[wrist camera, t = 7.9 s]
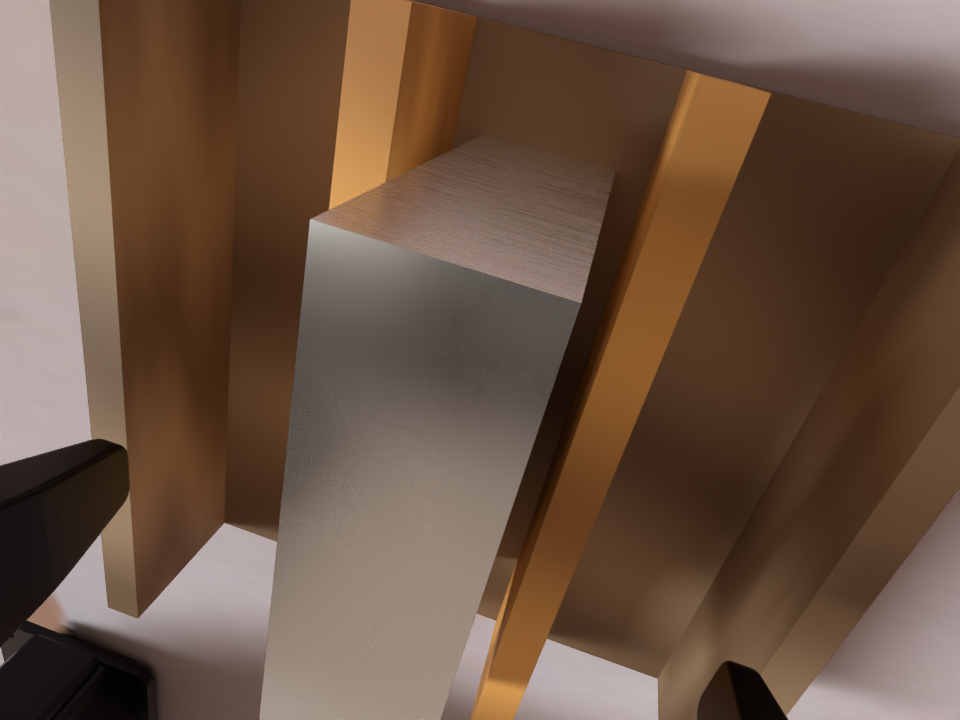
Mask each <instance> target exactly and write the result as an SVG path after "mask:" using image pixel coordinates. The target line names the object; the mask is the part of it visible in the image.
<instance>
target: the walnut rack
mask: <svg viewBox="0 0 960 720" xmlns="http://www.w3.org/2000/svg"><path fill="white" fill-rule="evenodd" d="M49 1H50V11H51V21H52V32H53V42H54V52H55V63H56V73H57V83H58V94H59V104H60V114H61V125H62V135H63V145H64V156H65V166H66V177H67V187H68V197H69V208H70V218H71V228H72V239H73V249H74V259H75V270H76V280H77V290H78V301H79V311H80V321H81V332H82V342H83V353H84V363H85V373H86V384H87V394H88V404H89V415H90V425H91V435H92V440H93V439H105V440H108V441H110V442H113V443H116V444H119V445H122V446H123V447H125V449H126V450H127V452H128V461H129V477H130V491H129V495H128V497H127V499H126V501H125V503H124V504H123V506H122V507H121V508H120V509H119V511H118V512H117V513H116V514H115V516H114V517H113V518H112V520H111V521H110V522H109V523H108V525H107V526H106V527H105V528H104V530H103V531H102V532H101V539H102V549H103V560H104V570H105V580H106V591H107V601H108V607H109V608H112V609H114V610H117V611H119V612H122V613H125V614H127V615H130V616H132V617H135V618H139V617H140V616H141V615H142V613H143V612H144V611H145V610H146V609H147V608H148V607H149V606H150V605H151V604H152V602H153V601H154V600H155V599H156V598H157V597H158V596H159V595H160V594H161V592H162V591H163V590H164V589H165V588H166V587H167V586H168V585H169V584H170V582H171V581H172V580H173V579H174V578H175V577H176V576H177V575H178V574H179V572H180V571H181V570H182V569H183V568H184V567H185V566H186V565H187V564H188V562H189V561H190V560H191V559H192V558H193V557H194V556H195V555H196V554H197V552H198V551H199V550H200V549H201V548H202V547H203V546H204V545H205V544H206V543H207V541H208V540H209V539H210V538H211V537H212V536H213V535H214V534H215V533H216V531H217V530H218V529H219V528H220V527H221V526H222V525H223V524H224V523H227V524H229V525H232V526H235V527H238V528H241V529H243V530H246V531H249V532H252V533H255V534H257V535H260V536H263V537H266V538H268V539H271V540H274V541H277V540H278V530H279V520H280V510H281V500H282V490H283V481H284V471H285V461H286V451H287V441H288V432H289V422H290V412H291V402H292V392H293V382H294V373H295V363H296V353H297V343H298V333H299V324H300V314H301V304H302V294H303V284H304V275H305V265H306V255H307V245H308V235H309V225H310V219H312V218H314V217H316V216H318V215H320V214H322V213H324V212H326V211H328V210H330V209H332V208H334V207H336V206H338V205H340V204H342V203H344V202H346V201H348V200H350V199H353V198H355V197H357V196H359V195H361V194H363V193H365V192H367V191H369V190H371V189H373V188H375V187H377V186H379V185H381V184H383V183H385V182H387V181H389V180H391V179H393V178H396V177H398V176H400V175H402V174H404V173H406V172H408V171H410V170H412V169H414V168H416V167H418V166H420V165H422V164H424V163H426V162H428V161H430V160H432V159H434V158H436V157H438V156H441V155H443V154H445V153H447V152H449V151H451V150H453V149H455V148H457V147H459V146H461V145H463V144H465V143H467V142H469V141H471V140H473V139H475V138H477V137H479V136H481V135H483V134H486V133H487V134H490V135H494V136H497V137H501V138H504V139H508V140H511V141H515V142H518V143H522V144H525V145H529V146H532V147H536V148H539V149H543V150H546V151H550V152H553V153H557V154H560V155H564V156H567V157H571V158H574V159H578V160H581V161H585V162H588V163H592V164H595V165H599V166H602V167H606V168H609V169H613V170H616V172H615V176H614V179H613V183H612V187H611V191H610V195H609V199H608V202H607V206H606V210H605V214H604V218H603V222H602V225H601V229H600V233H599V237H598V241H597V245H596V248H595V252H594V256H593V260H592V264H591V268H590V271H589V275H588V279H587V283H586V287H585V291H584V294H583V298H582V302H581V305H580V308H579V311H578V314H577V317H576V320H575V323H574V326H573V329H572V332H571V335H570V338H569V341H568V344H567V347H566V350H565V353H564V356H563V358H562V361H561V364H560V367H559V370H558V373H557V376H556V379H555V382H554V385H553V388H552V391H551V394H550V397H549V400H548V403H547V406H546V409H545V412H544V415H543V418H542V421H541V424H540V427H539V429H538V432H537V435H536V438H535V441H534V444H533V447H532V450H531V453H530V456H529V459H528V462H527V465H526V468H525V471H524V474H523V477H522V480H521V483H520V486H519V489H518V492H517V495H516V498H515V500H514V503H513V506H512V509H511V512H510V515H509V518H508V521H507V524H506V527H505V530H504V533H503V536H502V539H501V542H500V545H499V548H498V551H497V554H496V557H495V560H494V563H493V566H492V569H491V571H490V574H489V577H488V580H487V583H486V586H485V589H484V592H483V595H482V598H481V601H480V604H479V607H478V610H477V614H480V615H482V616H485V617H488V618H491V619H494V620H496V624H495V628H494V632H493V635H492V639H491V643H490V647H489V650H488V654H487V658H486V662H485V666H484V669H483V673H482V677H481V681H480V685H479V688H478V692H477V696H476V700H475V703H474V707H473V711H472V715H471V719H470V720H513V719H514V716H515V714H516V711H517V709H518V707H519V704H520V702H521V699H522V697H523V694H524V692H525V690H526V687H527V685H528V682H529V680H530V677H531V675H532V673H533V670H534V668H535V665H536V663H537V661H538V658H539V656H540V653H541V651H542V648H543V646H544V644H545V641H546V639H549V640H552V641H555V642H558V643H560V644H563V645H566V646H569V647H571V648H574V649H577V650H580V651H583V652H585V653H588V654H591V655H594V656H596V657H599V658H602V659H605V660H608V661H610V662H613V663H616V664H619V665H622V666H624V667H627V668H630V669H633V670H635V671H638V672H641V673H644V674H647V675H649V676H652V677H655V678H658V715H659V720H696V717H697V708H698V703H699V700H700V697H701V695H702V693H703V692H704V690H705V688H706V687H707V685H708V684H709V682H710V681H711V679H712V677H713V676H714V674H715V673H716V671H717V670H718V668H719V666H720V665H721V664H722V663H723V662H725V661H727V660H728V661H733V662H736V663H739V664H742V665H744V666H747V667H750V668H753V669H755V670H756V671H757V672H758V673H759V674H760V675H761V677H762V678H763V680H764V681H765V683H766V685H767V686H768V688H769V689H770V691H771V693H772V694H773V696H774V697H775V699H776V701H777V702H778V704H779V705H780V707H781V709H782V710H783V712H784V713H785V715H787V714H788V713H789V712H790V710H791V709H792V708H793V706H794V705H795V704H796V702H797V701H798V700H799V698H800V697H801V696H802V694H803V693H804V692H805V691H806V689H807V688H808V687H809V685H810V684H811V683H812V681H813V680H814V679H815V677H816V676H817V675H818V673H819V672H820V671H821V669H822V668H823V667H824V666H825V664H826V663H827V662H828V660H829V659H830V658H831V656H832V655H833V654H834V652H835V651H836V650H837V648H838V647H839V646H840V645H841V643H842V642H843V641H844V639H845V638H846V637H847V635H848V634H849V633H850V631H851V630H852V629H853V627H854V626H855V625H856V624H857V622H858V621H859V620H860V618H861V617H862V616H863V614H864V613H865V612H866V610H867V609H868V608H869V606H870V605H871V604H872V603H873V601H874V600H875V599H876V597H877V596H878V595H879V593H880V592H881V591H882V589H883V588H884V587H885V585H886V584H887V583H888V581H889V580H890V579H891V578H892V576H893V575H894V574H895V572H896V571H897V570H898V568H899V567H900V566H901V564H902V563H903V562H904V560H905V559H906V558H907V557H908V555H909V554H910V553H911V551H912V550H913V549H914V547H915V546H916V545H917V543H918V542H919V541H920V539H921V538H922V537H923V536H924V534H925V533H926V532H927V530H928V529H929V528H930V526H931V525H932V524H933V522H934V521H935V520H936V518H937V517H938V516H939V514H940V513H941V512H942V511H943V509H944V508H945V507H946V505H947V504H948V503H949V501H950V500H951V499H952V497H953V496H954V495H955V493H956V492H957V491H958V490H959V488H960V139H959V138H955V137H951V136H947V135H943V134H939V133H935V132H931V131H927V130H923V129H919V128H915V127H911V126H908V125H904V124H900V123H896V122H892V121H888V120H884V119H880V118H876V117H872V116H868V115H864V114H860V113H856V112H852V111H848V110H844V109H840V108H836V107H832V106H829V105H825V104H821V103H817V102H813V101H809V100H805V99H801V98H797V97H793V96H789V95H785V94H781V93H777V92H773V91H769V90H765V89H761V88H757V87H753V86H749V85H746V84H742V83H738V82H734V81H730V80H726V79H722V78H718V77H714V76H710V75H706V74H702V73H698V72H694V71H690V70H686V69H682V68H678V67H674V66H670V65H667V64H663V63H659V62H655V61H651V60H647V59H643V58H639V57H635V56H631V55H627V54H623V53H619V52H615V51H611V50H607V49H603V48H599V47H595V46H591V45H588V44H584V43H580V42H576V41H572V40H568V39H564V38H560V37H556V36H552V35H548V34H544V33H540V32H536V31H532V30H528V29H524V28H520V27H516V26H512V25H509V24H505V23H501V22H497V21H493V20H489V19H485V18H481V17H477V16H473V15H469V14H465V13H461V12H457V11H453V10H449V9H445V8H441V7H437V6H433V5H429V4H426V3H422V2H418V1H414V0H49Z"/></svg>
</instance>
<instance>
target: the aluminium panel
mask: <svg viewBox="0 0 960 720" xmlns="http://www.w3.org/2000/svg"><path fill="white" fill-rule="evenodd" d="M615 172H616V170H613V169H609V168H606V167H602V166H599V165H595V164H592V163H588V162H585V161H581V160H578V159H574V158H571V157H567V156H564V155H560V154H557V153H553V152H550V151H546V150H543V149H539V148H536V147H532V146H529V145H525V144H522V143H518V142H515V141H511V140H508V139H504V138H501V137H497V136H494V135H490V134H487V133H486V134H483V135H481V136H479V137H477V138H475V139H473V140H471V141H469V142H467V143H465V144H463V145H461V146H459V147H457V148H455V149H453V150H451V151H449V152H447V153H445V154H443V155H441V156H438V157H436V158H434V159H432V160H430V161H428V162H426V163H424V164H422V165H420V166H418V167H416V168H414V169H412V170H410V171H408V172H406V173H404V174H402V175H400V176H398V177H396V178H393V179H391V180H389V181H387V182H385V183H383V184H381V185H379V186H377V187H375V188H373V189H371V190H369V191H367V192H365V193H363V194H361V195H359V196H357V197H355V198H353V199H350V200H348V201H346V202H344V203H342V204H340V205H338V206H336V207H334V208H332V209H330V210H328V211H326V212H324V213H322V214H320V215H318V216H316V217H314V218H312V219H310V225H309V235H308V245H307V255H306V265H305V275H304V284H303V294H302V304H301V314H300V324H299V333H298V343H297V353H296V363H295V373H294V382H293V392H292V402H291V412H290V422H289V432H288V441H287V451H286V461H285V471H284V481H283V490H282V500H281V510H280V520H279V530H278V540H277V549H276V559H275V569H274V579H273V589H272V598H271V608H270V618H269V628H268V638H267V648H266V657H265V667H264V677H263V687H262V697H261V706H260V716H259V720H440V719H441V716H442V713H443V711H444V708H445V705H446V702H447V699H448V696H449V693H450V690H451V687H452V684H453V681H454V678H455V675H456V672H457V669H458V666H459V663H460V660H461V657H462V654H463V651H464V648H465V645H466V642H467V640H468V637H469V634H470V631H471V628H472V625H473V622H474V619H475V616H476V613H477V610H478V607H479V604H480V601H481V598H482V595H483V592H484V589H485V586H486V583H487V580H488V577H489V574H490V571H491V569H492V566H493V563H494V560H495V557H496V554H497V551H498V548H499V545H500V542H501V539H502V536H503V533H504V530H505V527H506V524H507V521H508V518H509V515H510V512H511V509H512V506H513V503H514V500H515V498H516V495H517V492H518V489H519V486H520V483H521V480H522V477H523V474H524V471H525V468H526V465H527V462H528V459H529V456H530V453H531V450H532V447H533V444H534V441H535V438H536V435H537V432H538V429H539V427H540V424H541V421H542V418H543V415H544V412H545V409H546V406H547V403H548V400H549V397H550V394H551V391H552V388H553V385H554V382H555V379H556V376H557V373H558V370H559V367H560V364H561V361H562V358H563V356H564V353H565V350H566V347H567V344H568V341H569V338H570V335H571V332H572V329H573V326H574V323H575V320H576V317H577V314H578V311H579V308H580V305H581V302H582V298H583V294H584V291H585V287H586V283H587V279H588V275H589V271H590V268H591V264H592V260H593V256H594V252H595V248H596V245H597V241H598V237H599V233H600V229H601V225H602V222H603V218H604V214H605V210H606V206H607V202H608V199H609V195H610V191H611V187H612V183H613V179H614V176H615Z"/></svg>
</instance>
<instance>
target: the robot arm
mask: <svg viewBox="0 0 960 720" xmlns="http://www.w3.org/2000/svg"><path fill="white" fill-rule="evenodd" d="M129 491H130V477H129V461H128V452H127V450H126V449H125V447H123V446H122V445H119V444H116V443H113V442H110V441H108V440H105V439H93V440H89V441H86V442H82V443H79V444H75V445H72V446H68V447H64V448H61V449H57V450H54V451H50V452H47V453H43V454H40V455H36V456H33V457H29V458H26V459H22V460H19V461H15V462H12V463H8V464H4V465H1V466H0V647H1V649H2V653H3V658H4V663H3V664H2V665H1V666H0V720H156V701H155V681H154V676H153V674H152V673H151V671H149V670H148V669H147V668H145V667H143V666H141V665H139V664H136V663H134V662H131V661H128V660H126V659H123V658H121V657H118V656H116V655H113V654H111V653H108V652H105V651H103V650H100V649H98V648H95V647H93V646H90V645H88V644H85V643H83V642H80V641H77V640H75V639H72V638H70V637H67V636H65V635H62V634H60V633H57V632H55V631H52V630H49V629H47V628H44V627H42V626H39V625H37V624H34V623H31V622H29V621H26V620H27V619H28V618H29V617H30V616H31V615H32V614H33V613H34V612H35V611H36V610H37V609H38V608H39V607H40V606H41V605H42V604H43V602H44V601H45V600H46V599H47V598H48V597H49V596H50V595H51V594H52V593H53V592H54V590H55V589H56V588H57V587H58V586H59V585H60V583H61V582H62V581H63V580H64V579H65V578H66V576H67V575H68V574H69V573H70V571H71V570H72V569H73V568H74V566H75V565H76V564H77V563H78V561H79V560H80V559H81V557H82V556H83V555H84V554H85V552H86V551H87V550H88V549H89V547H90V546H91V545H92V544H93V542H94V541H95V540H96V539H97V537H98V536H99V535H100V533H101V532H102V531H103V530H104V528H105V527H106V526H107V525H108V523H109V522H110V521H111V520H112V518H113V517H114V516H115V514H116V513H117V512H118V511H119V509H120V508H121V507H122V506H123V504H124V503H125V501H126V499H127V497H128V495H129ZM696 720H788V718H787V717H786V715H785V713H784V712H783V710H782V709H781V707H780V705H779V704H778V702H777V701H776V699H775V697H774V696H773V694H772V693H771V691H770V689H769V688H768V686H767V685H766V683H765V681H764V680H763V678H762V677H761V675H760V674H759V673H758V672H757V671H756V670H755V669H753V668H750V667H747V666H744V665H742V664H739V663H736V662H733V661H728V660H727V661H725V662H723V663H722V664H721V665H720V666H719V668H718V670H717V671H716V673H715V674H714V676H713V677H712V679H711V681H710V682H709V684H708V685H707V687H706V688H705V690H704V692H703V693H702V695H701V697H700V700H699V703H698V708H697V717H696Z"/></svg>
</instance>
